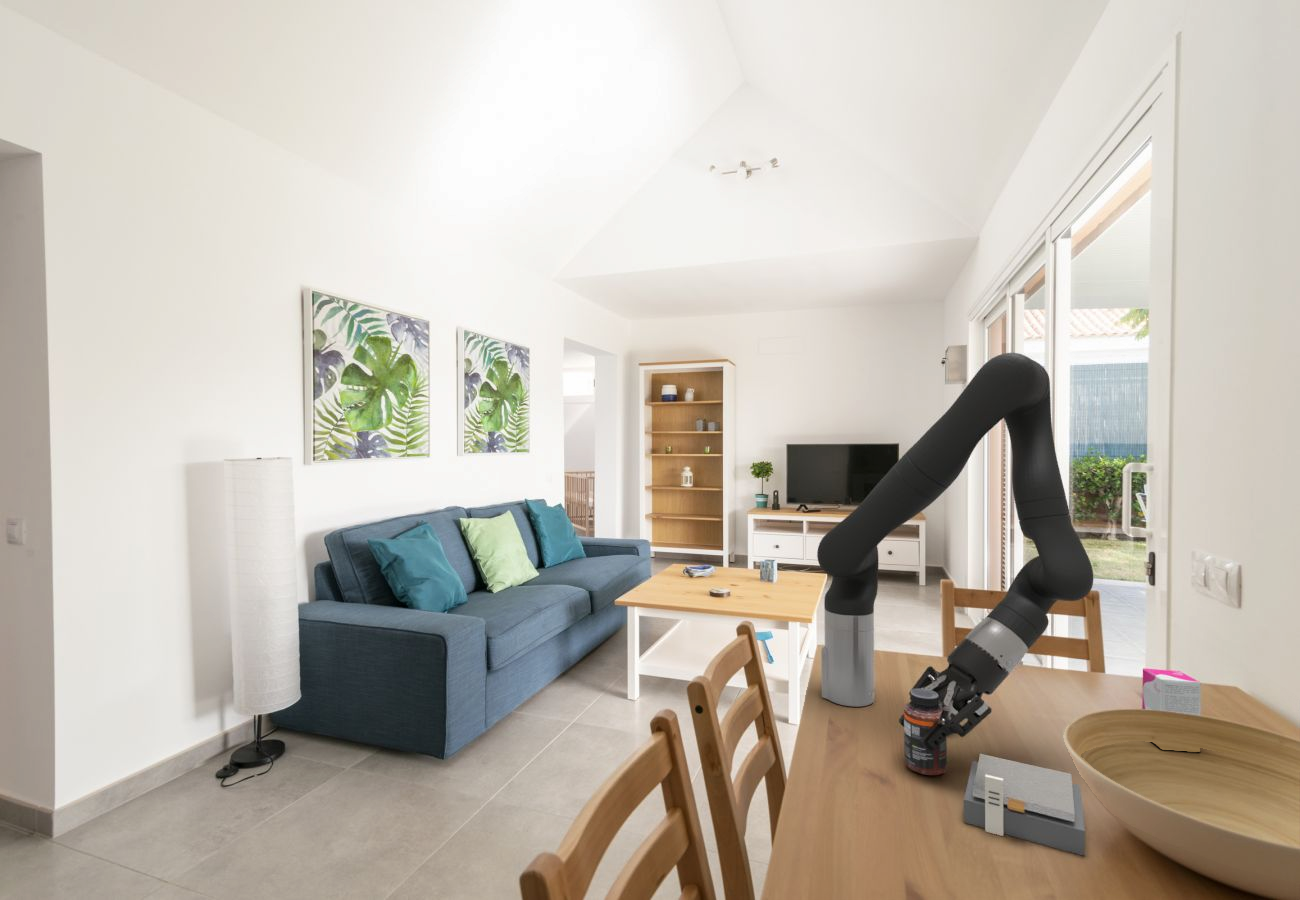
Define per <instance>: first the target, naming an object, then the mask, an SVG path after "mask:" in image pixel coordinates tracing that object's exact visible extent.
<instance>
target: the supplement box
mask: <svg viewBox="0 0 1300 900" xmlns="http://www.w3.org/2000/svg"><path fill="white" fill-rule="evenodd" d="M1141 701H1142V704H1141V705H1142V707H1141V710H1142V709H1145V710H1160V711H1170V712H1176V713H1184V714H1191V715H1198V716H1201V717H1202V682H1200V681H1199V680H1197V679H1195V678H1193V677H1191V676H1189V675H1188V674H1186V673H1184V672H1182V671H1180V670H1169V669H1157V668H1156V669H1155V668H1147V667H1146V668H1144V667H1143V668H1142V699H1141Z"/></svg>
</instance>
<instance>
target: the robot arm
mask: <svg viewBox="0 0 1300 900" xmlns="http://www.w3.org/2000/svg"><path fill="white" fill-rule="evenodd" d="M1051 403H1052V402H1051V379H1050V375H1049V374H1048V371H1047V370H1046V368H1045V367H1043V365H1041V364H1040V363H1039V362H1037V361H1036V360H1034V359H1033V358H1032V359H1031V358H1030V357H1028V356H1027V355H1024V354H1021V353H1018V352H1005V353H1001V354H999V355H995V356H994V357H992V358H991V359H989V360H988V361H987V362H985V363H984V364H983V365H982V366H981V368H980V369H979V370H977V372H976V373H975V375H974V376H973V377H972V378H971V380H970V381H969V382H968V384H967V386H965V388H964V389H963V391H961V393H960V394H959V396H958V397H957V399H956V400H955V401H954V403H952V405H950V407H949V408H948V409H947V411H946V412H945V413H944V414H942V416H941V417H940V418H938V419H937V421H936V422H935V423H934V424H932V426H930V427H929V429H927V430H926V432H925V433H924V434H923V435H922V436H920V438H919V439H918V440H917V441H916V442H915V443H914V444H913V445H912V446H911V447H910V448H909V449H908V450H907V451H906V452H904V454H903V455H902V456H901V458H900V459H898V460H897V462H896V463H894V465H892V467H891V468H890V469H889V470H888V472H887V473H886V474H885V475H884V476H883V477H882V479H880V481H879V482H877V484H876V485H875V486H874V487H873V489H872V490H871V491H870V492H869V494H868V495H866V497H865V498H864V500H863V501H862V502H860V504H859V505H858V506H857V507H856V508H855V509H854V510H853V511H852V512H851V513H850V514H849V515H847V516H846V517H845V518H844V519H842V520H841V521H840V522H839V523H838V524H836V526H834V527H833V528H831V530H829V531H828V532H826V534H825V535H824V536H823V537H822V538H821V540H820V542H819V544H818V546H817V554H816V558H817V562H818V564H819V567H820V568H821V569H822V571H823V572H825V574H828V576H832V580H831V583H830V586H829V587H828V590H827V591H826V593H825V594H824V595H825V596H824V601H823V602H824V606H823V607H824V647H822V648H821V652H820V653H821V657H820V658H821V668H820V669H821V673H820V674H821V698H822V699H826V700H828V701H830V702H831V703H834V704H837V705H842V706H846V707H856V708H857V707H867V706H870V705H871V704H873V703H874V702H875V636H874V635H875V633H874V631H875V625H874V624H875V623H874V622H875V615H874V613H875V608H874V607H875V601H876V598H877V595H878V588H879V587H878V586H879V585H878V584H879V550H878V549H879V547H878V545H879V544H880V543H882V541H883V540H884V539H885V538H886V537H887V536H888V535H889V534H891V533H892V532H894V531H895V530H896V529H897V528H899V527H901V526H902V525H903V524H905V523H906V522H908V521H909V520H911V519H913V518H914V517H916V516H917V515H918V514H920V513H921V512H922V511H924V510H925V509H926V508H927V507H929V506H930V505H931V504H933V503H934V502H935V501H937V499H939V497H940V496H941V495H942V494H943V493H945V492H946V490H947V489H948V488H949V487H950V486H951V485H952V484H953V483H954V482H955V481H956V480H957V478H958V477H959V475H960V474H961V472H962V471H963V469H964V468H965V466H966V464H967V463H968V462H969V461H968V460H969V459H970V457H971V455H972V454H973V452H974V450H975V448H976V447H977V445H978V444H979V443H980V441H981V440H982V439H983V438H984V436H986V434H987V433H989V432H990V431H991V429H993V428H994V427H995V426H996V425H997V424H998V423H1000V422H1001V420H1003V419H1004V423H1005V424H1006V425H1005V426H1006V428H1007V431H1008V433H1009V434H1008V435H1009V439H1010V446H1011V453H1012V455H1011V456H1012V457H1011V459H1012V460H1011V461H1012V462H1011V483H1012V486H1011V487H1012V493H1013V498H1014V503H1015V504H1014V505H1015V509H1016V515H1017V518H1018V523H1019V527H1020V530H1021V533H1022V534H1023V536H1024V537H1025V538H1027V539H1029V540H1031V541H1032V542H1033V544H1034V546H1035V548H1036V551H1037V553H1038V556H1035V557H1033V558H1032V559H1030V560H1029V561H1028V562H1026V563H1025V564H1024V565H1023V566H1022V568H1021V569H1020V570H1019V571H1018V573H1017V574H1016V576H1015V577H1014V579H1013V581H1012V582H1011V584H1010V586H1009V588H1008V590H1007V592H1006V594H1005V596H1004V598H1002V599H1001V601H999V602H998V603H997V605H996V606H995V607H994V608H993V609H992V610H991V611H990V612H989V613H988V615H987V616H986V617H985V618H983V620H981V621H980V622H978V623H977V624H976V625H975V626H974V627H973V628H972V629H971V630H970V631H969V633H968V634H967V635H966V636H965V637H964V638H962V641H960V643H959V644H958V645H957V646H956V647H955V648H954V649H953V650H952V651H951V652H950V654H949V655H947V659H946V661H947V663H948V667H946V668H945V669H944V670H942V671H941V672H940V671H937V670H936V669H935V668H934V667H933V666H928V667H927V668H926V669H925V670H924V672H923V673H922V674H921V676H920V677H919V679H918V680H917V681H916V683H915V684H914V685H913V686H912V688H911V689H910V690H909V693H908V694H909V696H910V692H911V690H913V689H918V688H921V689H928V690H932V691H934V692H936V693H937V694H938V696H939V704H938V705H939V706H940V707H942V709H943V711H942V714H941V716H940V718H939V724H938V723H937V722H935V724H934V725H933V726H932V727H931V728H930V729H929V730H928V731H927V733H926V734H925V735H924V736H923V737H922V738H921V743H922V744H923V745H924V746H925V747H926V748H928V749H929V750H930V751H934V750H935V749H936V748H938V747H939V746H940V744H941V743H942V742H943V741H944V740H945V739H947V738H948V736H949V735H955V734H956V735H958V736H960V738H964V737H966V736H967V735H968V734H970V732H971V731H972V730H974V728H976V727H977V725H979V724H981V722H983V720H984V719H986V718H987V717H988V716H989V715H990V714H991V713H992V711H993V709H992V707H990V706H989V704H987V702H986V701H985V700H983V699H982V697H983V694H984V695H987V696H990V695H992V694H993V693H994V692H995V691H996V690H997V688H999V687H1000V685H1001V684H1002V683H1003V682H1004V681H1005V680H1006V678H1008V676H1009V675H1010V674H1011V673H1012V672H1013V671H1014V670H1015V669H1016V667H1017V666H1018V665H1019V664H1020V663H1021V661H1023V658H1024V657H1025V655H1026V653H1027V652H1028V651H1029V650H1030V648H1031V647H1033V645H1034V644H1035V643H1036V642H1037V641H1038V640H1039V639H1040V637H1041V636H1042V635H1043V634H1044V633H1045V631H1046V630H1047V628H1048V626H1049V622H1050V621H1049V617H1048V616H1047V614H1048V612H1049V611H1050V610H1051V608H1052V607H1053V605H1054V604H1056V603H1057V602H1058V601H1062V602H1063V601H1064V602H1077V601H1080V600H1082V599H1085V598H1086V597H1087V596H1088V595H1089V594H1090V593H1091V590H1092V588H1093V584H1094V571H1093V566H1092V563H1091V560H1090V558H1089V555H1088V553H1087V551H1086V549H1085V547H1084V546H1083V543H1082V541H1081V539H1080V537H1079V535H1078V533H1077V531H1076V530H1075V528H1074V526H1073V524H1072V519H1071V518H1072V517H1071V514H1070V509H1069V505H1068V501H1067V496H1066V491H1065V487H1064V484H1063V480H1062V479H1063V478H1062V475H1061V471H1060V467H1059V462H1058V458H1057V453H1056V447H1055V442H1054V435H1053V434H1054V433H1053V424H1052V409H1051V407H1052V405H1051ZM957 711H958V712H957ZM950 717H951V720H949V718H950ZM965 719H967V721H966V722H965V723H964V724H963V725H961V723H963V722H964V721H965ZM898 724H899V725H900V726H902V727H903V728H904V713H902V715H901V716H900V718H899V719H898Z"/></svg>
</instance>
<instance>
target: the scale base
mask: <svg viewBox="0 0 1300 900" xmlns="http://www.w3.org/2000/svg"><path fill="white" fill-rule="evenodd" d="M977 766H978V761H976V760H975V761H974V760H972V763H971V766H970V767H971V768H970V771H969V774H968V775H969V776H968V780H967V785H966V789H965V793H964V798H963V822H964V824H968V825H971V824H972V825H971V826H975V827H978V826H980V827H979V828H981V829H984V830H985V831H984V832H987V833H990V834H994V835H996V834H997V836H1001V837H1004V834H1005V835H1008V836H1011V837H1014V838H1018V839H1020V840H1021V839H1022V840H1025V841H1029V842H1032V843H1036V844H1040V845H1044V846H1047V847H1050V848H1054V849H1058V850H1061V851H1065V852H1068V853H1072V854H1075V853H1076V854H1075V855H1080V856H1082V855H1084V856H1083V857H1086V827H1085V820H1084V819H1085V818H1084V809H1083V801H1082V792H1081V785H1078V784H1075V783H1072V788H1073V800H1074V812H1075V822H1072V821H1068V820H1064V819H1060V818H1056V817H1053V816H1049V815H1045V814H1041V813H1037V812H1033V811H1029V810H1024V813H1023V812H1019V811H1015V810H1011V809H1008V805H1006V804H1003V778H999V777H994V776H990V775H986V774H985V799H982V798H978V797H975V796H973V785H974V780H975V776H976V771H977Z"/></svg>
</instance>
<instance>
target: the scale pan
mask: <svg viewBox="0 0 1300 900" xmlns="http://www.w3.org/2000/svg"><path fill="white" fill-rule="evenodd" d="M977 762H978V766H977V771H976V776H975V780H974V785H973V796H975V797H978V798H982V799H985V774H986V775H990V776H994V777H999V778H1003V804H1006V805H1008V809H1011V810H1015V811H1019V812H1023V813H1024V810H1029V811H1033V812H1037V813H1041V814H1045V815H1049V816H1053V817H1056V818H1060V819H1064V820H1068V821H1072V822H1075V812H1074V800H1073V788H1072V784H1073V777H1072V774H1071V773H1068V772H1064V771H1060V770H1054V769H1051V768H1046V767H1042V766H1037V765H1032V764H1027V763H1023V762H1020V761H1015V760H1009V759H1004V758H1001V757H996V756H992V755H987V754H983V753H979V758H978V761H977Z"/></svg>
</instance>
